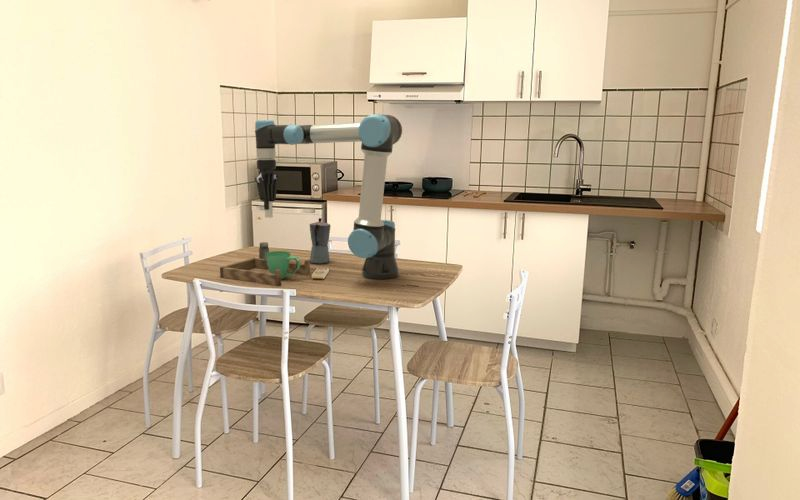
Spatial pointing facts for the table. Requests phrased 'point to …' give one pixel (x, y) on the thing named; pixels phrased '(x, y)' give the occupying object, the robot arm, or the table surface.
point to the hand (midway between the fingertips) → (268, 217)
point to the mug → (281, 262)
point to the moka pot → (319, 242)
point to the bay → (242, 268)
